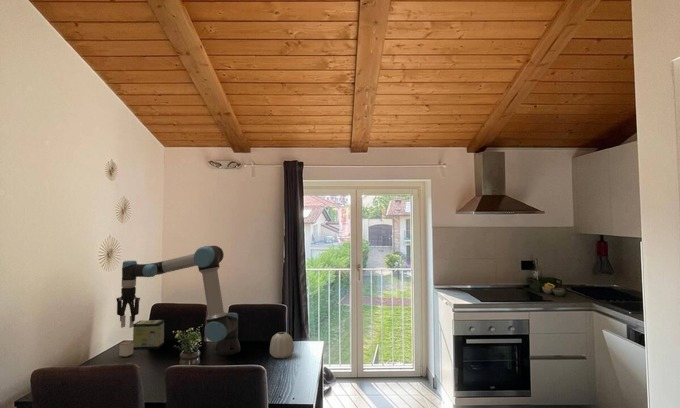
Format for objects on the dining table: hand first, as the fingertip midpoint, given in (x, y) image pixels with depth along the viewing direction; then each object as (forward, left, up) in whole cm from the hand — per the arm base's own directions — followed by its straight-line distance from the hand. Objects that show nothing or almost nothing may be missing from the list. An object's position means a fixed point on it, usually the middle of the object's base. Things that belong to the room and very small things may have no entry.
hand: (127, 327), depth 227 cm
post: (0, 0, -17) cm, 17 cm away
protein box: (-2, -19, -17) cm, 26 cm away
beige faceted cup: (0, 0, -16) cm, 16 cm away
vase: (-91, -6, -17) cm, 93 cm away
